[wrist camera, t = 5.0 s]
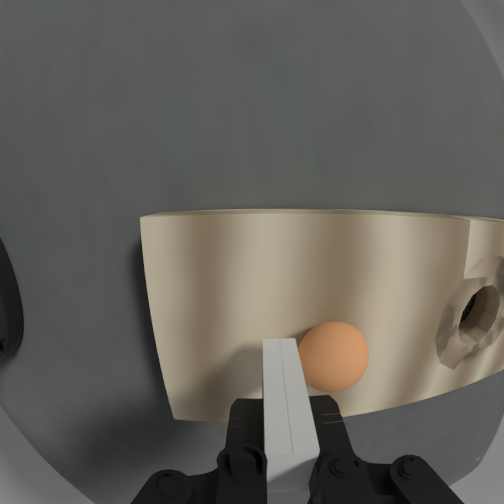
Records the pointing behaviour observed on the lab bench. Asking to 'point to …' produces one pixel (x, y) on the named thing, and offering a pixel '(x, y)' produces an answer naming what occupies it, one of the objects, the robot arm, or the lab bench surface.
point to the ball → (333, 356)
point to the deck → (322, 300)
